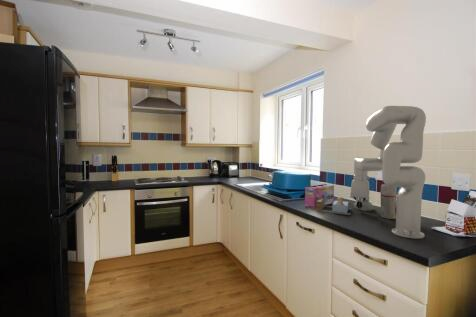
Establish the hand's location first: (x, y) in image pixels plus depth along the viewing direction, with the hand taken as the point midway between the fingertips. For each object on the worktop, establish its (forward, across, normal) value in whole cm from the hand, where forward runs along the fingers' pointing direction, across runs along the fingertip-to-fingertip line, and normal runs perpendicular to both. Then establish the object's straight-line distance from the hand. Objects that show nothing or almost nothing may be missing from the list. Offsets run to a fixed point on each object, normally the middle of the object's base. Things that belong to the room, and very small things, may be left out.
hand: (359, 208), depth 155 cm
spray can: (+3, -15, +2) cm, 16 cm away
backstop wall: (+4, +22, +4) cm, 23 cm away
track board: (+3, +14, +4) cm, 15 cm away
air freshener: (+4, -2, -9) cm, 10 cm away
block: (+2, +10, +4) cm, 11 cm away
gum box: (+4, +25, -11) cm, 27 cm away
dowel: (+2, +10, +7) cm, 13 cm away
